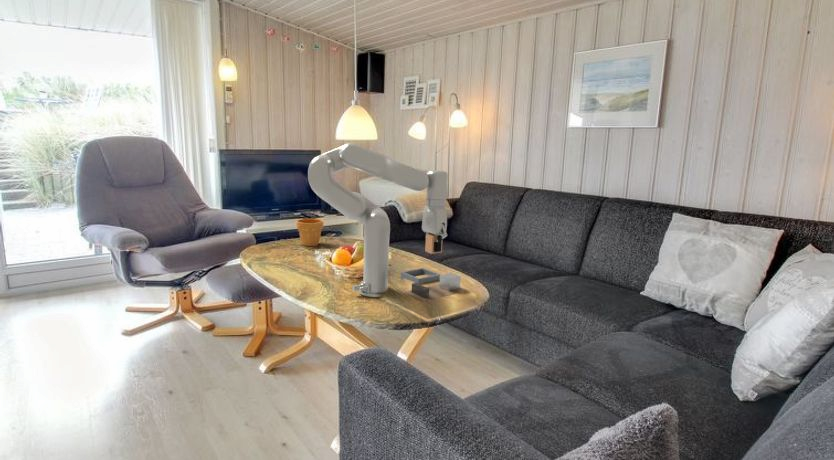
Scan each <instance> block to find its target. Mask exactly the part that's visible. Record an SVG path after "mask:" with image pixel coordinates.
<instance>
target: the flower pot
mask: <svg viewBox="0 0 834 460" xmlns="http://www.w3.org/2000/svg"><path fill="white" fill-rule="evenodd" d="M295 223H296V229H297V230H298V234H299V238H300V242H301V243H300V244H301V245H302V246H305V247H315V246H318V245H319V243H320V240H321V234H322V230H323V229H324V220H323V219H320V218H300V219H297V220H296V222H295Z"/></svg>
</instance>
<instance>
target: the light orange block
mask: <svg viewBox="0 0 834 460" xmlns="http://www.w3.org/2000/svg"><path fill="white" fill-rule="evenodd" d="M439 236H440V235H438V237H439ZM434 242H435V234H432V233H429V234H426V235H425V246H424V249H425V253H428V254H431V255H433V254H441V253H443V241H442V242H441V251H440V252H434Z"/></svg>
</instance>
